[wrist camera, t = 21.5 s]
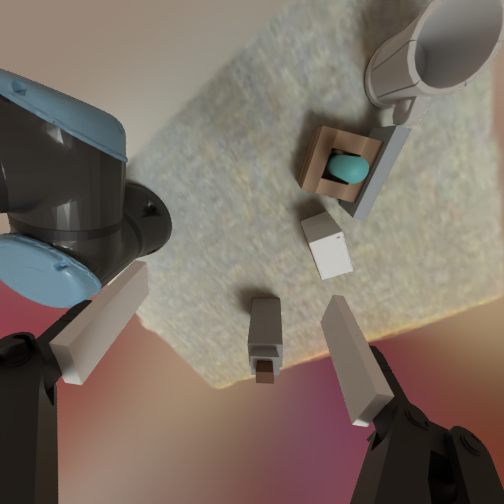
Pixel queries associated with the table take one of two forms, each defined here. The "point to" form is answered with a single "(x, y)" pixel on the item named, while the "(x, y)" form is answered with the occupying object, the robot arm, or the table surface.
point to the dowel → (347, 167)
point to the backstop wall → (378, 169)
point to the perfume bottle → (265, 339)
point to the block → (318, 154)
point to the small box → (327, 245)
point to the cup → (434, 56)
